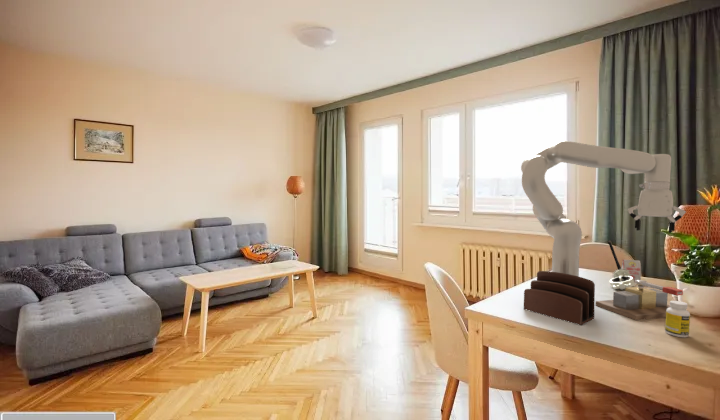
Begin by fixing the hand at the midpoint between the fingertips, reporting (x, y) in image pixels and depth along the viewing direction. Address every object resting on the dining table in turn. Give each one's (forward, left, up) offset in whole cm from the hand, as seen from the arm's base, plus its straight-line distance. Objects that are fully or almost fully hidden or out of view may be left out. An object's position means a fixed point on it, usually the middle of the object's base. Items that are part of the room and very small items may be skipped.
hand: (653, 231), depth 138 cm
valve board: (-14, -7, -27) cm, 31 cm away
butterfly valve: (+8, +19, -28) cm, 35 cm away
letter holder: (-45, -4, -28) cm, 53 cm away
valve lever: (-14, -13, -18) cm, 26 cm away
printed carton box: (+21, +27, -28) cm, 44 cm away
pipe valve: (-14, -7, -26) cm, 30 cm away
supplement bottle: (-24, -27, -28) cm, 45 cm away
